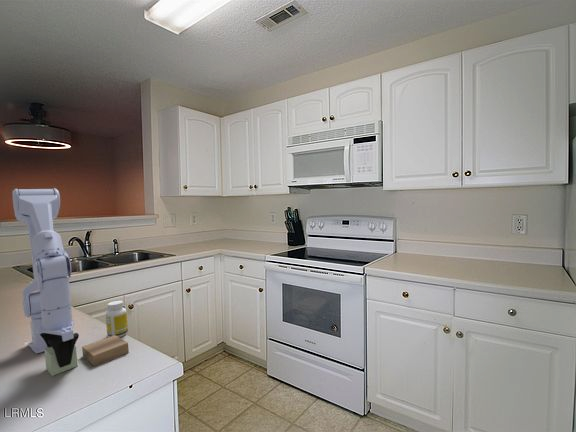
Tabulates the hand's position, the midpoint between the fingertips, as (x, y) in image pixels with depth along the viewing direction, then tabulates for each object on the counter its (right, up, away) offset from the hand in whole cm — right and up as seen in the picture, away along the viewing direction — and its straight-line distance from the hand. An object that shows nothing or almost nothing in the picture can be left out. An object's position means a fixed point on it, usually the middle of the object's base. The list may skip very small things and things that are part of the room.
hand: (61, 361), depth 73 cm
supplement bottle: (+4, -1, +18) cm, 18 cm away
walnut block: (+7, -1, +6) cm, 9 cm away
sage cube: (0, -1, 0) cm, 1 cm away
